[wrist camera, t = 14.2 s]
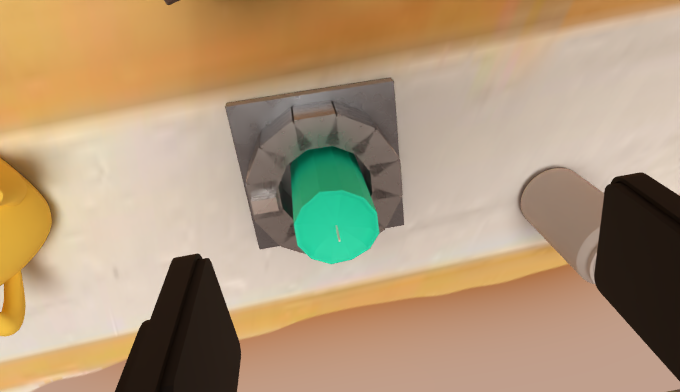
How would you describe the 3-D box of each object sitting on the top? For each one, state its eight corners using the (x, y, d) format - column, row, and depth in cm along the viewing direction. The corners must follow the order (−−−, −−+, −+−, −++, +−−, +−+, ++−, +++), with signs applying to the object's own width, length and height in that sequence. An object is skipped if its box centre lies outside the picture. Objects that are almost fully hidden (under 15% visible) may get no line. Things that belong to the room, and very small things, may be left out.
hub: (390, 77, 41) (408, 96, 35) (401, 218, 47) (417, 253, 42) (226, 102, 40) (218, 126, 35) (260, 242, 46) (257, 281, 41)
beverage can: (512, 177, 46) (582, 243, 36) (576, 155, 46) (665, 215, 36) (521, 229, 49) (588, 305, 39) (581, 209, 49) (665, 280, 39)
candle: (362, 140, 42) (391, 204, 31) (352, 201, 44) (375, 279, 34) (293, 134, 41) (299, 197, 30) (287, 196, 43) (290, 275, 33)
